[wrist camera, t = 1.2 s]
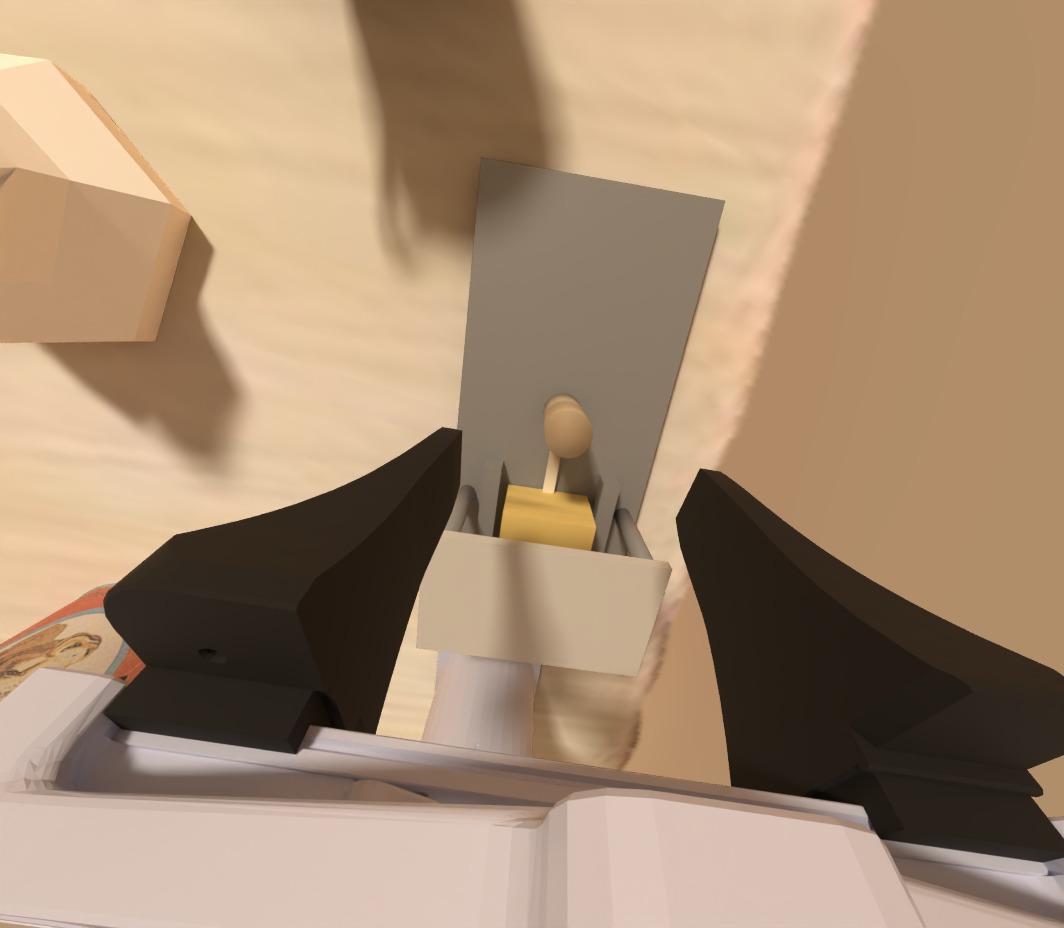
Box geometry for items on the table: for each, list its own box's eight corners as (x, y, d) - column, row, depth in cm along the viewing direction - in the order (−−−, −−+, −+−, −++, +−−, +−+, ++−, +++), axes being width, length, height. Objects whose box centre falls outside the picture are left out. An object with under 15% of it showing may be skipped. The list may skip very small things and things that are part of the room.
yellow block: (569, 575, 26) (576, 631, 21) (496, 565, 25) (487, 619, 21) (608, 400, 22) (628, 420, 17) (522, 386, 21) (517, 402, 17)
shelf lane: (611, 589, 27) (636, 677, 20) (447, 566, 27) (416, 647, 20) (716, 207, 19) (814, 138, 12) (484, 165, 19) (452, 71, 12)
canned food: (225, 607, 28) (19, 789, 17) (217, 708, 32) (43, 913, 21) (67, 564, 27) (-263, 729, 16) (78, 674, 31) (-186, 870, 20)
